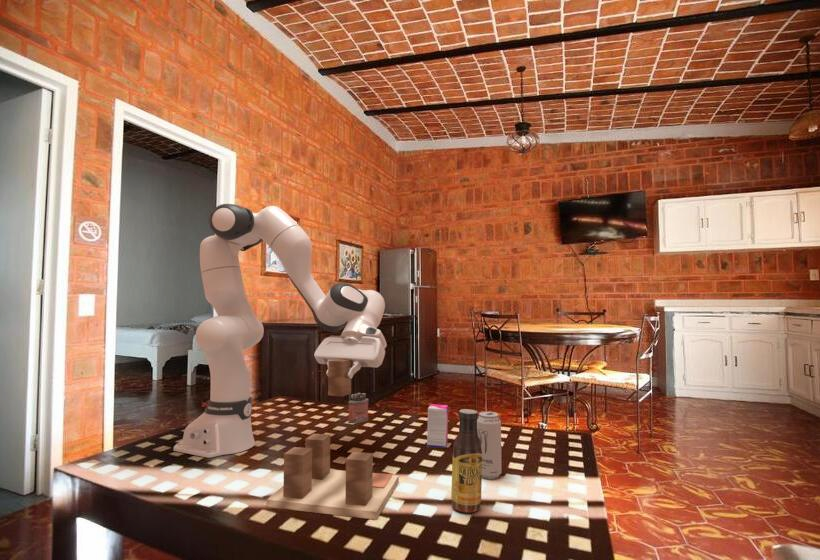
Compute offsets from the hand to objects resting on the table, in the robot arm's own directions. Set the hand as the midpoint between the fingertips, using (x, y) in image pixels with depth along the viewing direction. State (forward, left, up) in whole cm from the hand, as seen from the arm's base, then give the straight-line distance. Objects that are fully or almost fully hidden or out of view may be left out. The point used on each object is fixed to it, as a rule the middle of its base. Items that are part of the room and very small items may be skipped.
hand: (338, 376), depth 112 cm
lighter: (-9, +42, -23) cm, 49 cm away
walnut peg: (0, +1, -5) cm, 5 cm away
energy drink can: (+39, +3, -23) cm, 46 cm away
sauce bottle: (+35, -15, -23) cm, 45 cm away
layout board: (+6, -15, -23) cm, 29 cm away
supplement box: (+23, +23, -23) cm, 40 cm away
